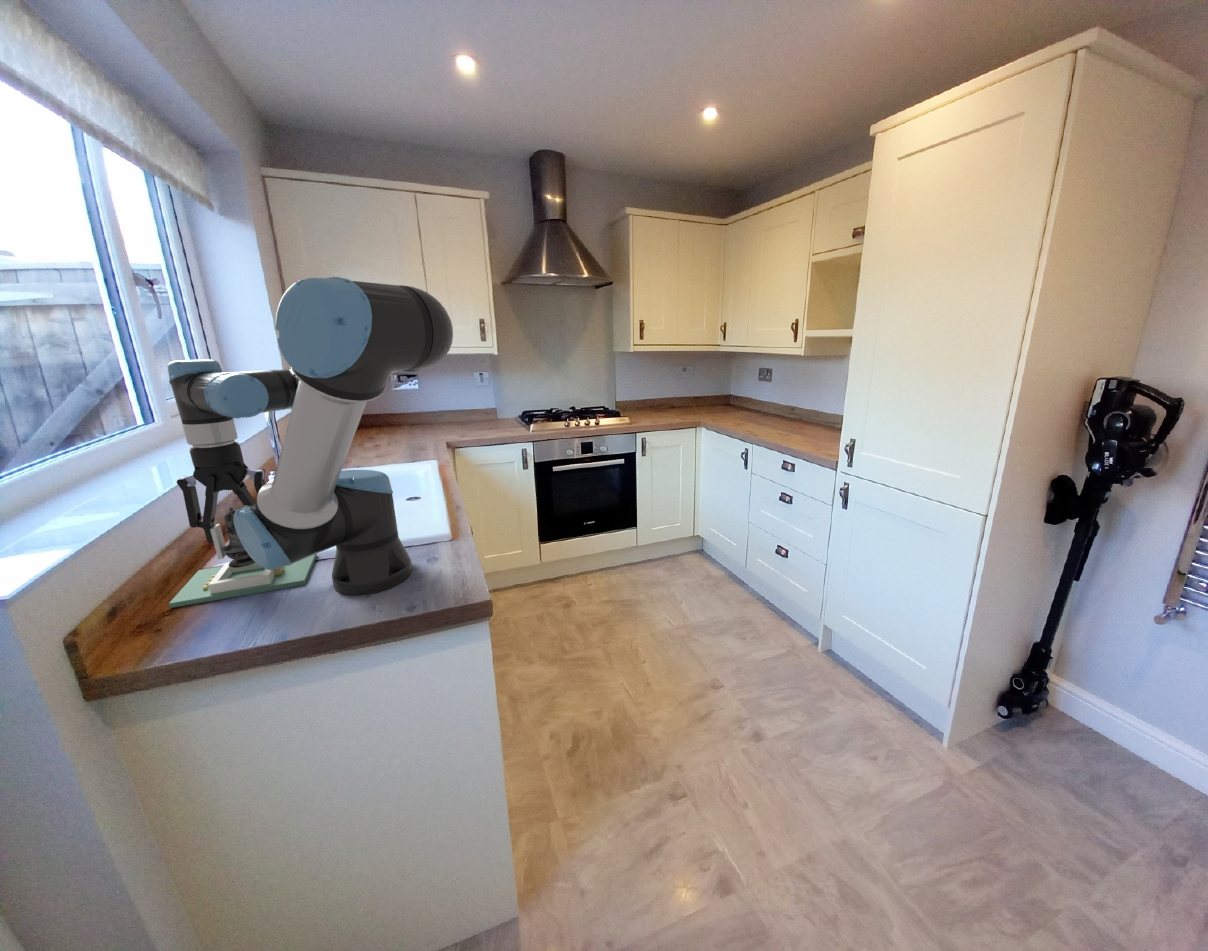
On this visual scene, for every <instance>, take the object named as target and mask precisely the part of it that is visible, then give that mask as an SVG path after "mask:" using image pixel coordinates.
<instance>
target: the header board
mask: <svg viewBox="0 0 1208 951" xmlns="http://www.w3.org/2000/svg"><path fill="white" fill-rule="evenodd" d="M317 554H318V553H317ZM317 554H314V555H312V556H309V557H307V558H305V559H302V560H300V561H297V562H295V563H292V565H289V566H288V565H286V566H284V567H281V568H278V569H275V570H267V569H264V568H262V567H260V566H259V565H258V564H256V563H254V564H251V565H248V566H244V567H238V568H232V567H229V563H230V562H231V561H229V562H225V563H224V564H223V566H217V567H212V568H203V569H199V570H198V571H196V572H195V574H194V575H193V576H192V577H191V578H190V579H189V580H188V581H187V583H186V584H185V585H184V586H183V587H182V588H181V589H180V590H179V591H178V593H177V594H176V595H175V596H174V597H173V598H172V599H171V601H169V603H168V605H169V607H170V609H172V608H178V607H184V606H190V605H197V604H201V603H207V602H213V601H218V600H224V599H229V598H236V597H241V596H247V595H253V594H258V593H264V592H271V591H276V590H281V589H282V590H283V589H287V588H293V587H298V586H304V585H306V583H307V581H308V578H309V576H310V574H311V571H312V569H313V567H314V564H315V562H316V559H317V556H318V555H317Z"/></svg>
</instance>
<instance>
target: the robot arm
mask: <svg viewBox="0 0 1208 951" xmlns="http://www.w3.org/2000/svg"><path fill="white" fill-rule="evenodd" d="M275 330H276V331H278V336H277V337H276V340H277V344H278V348H279V350H280V353H281V355H282V357H283V358H284V360H285V361H286V363H287V364H288V365H289V367H290V368H284V369H283V368H282V369H267V370H248V371H233V372H232V371H231V372H224V371H223V369H222V367H221V364H220V363H219V361H218V360H215V359H184V360H182V359H181V360H173V361H172V360H171V361H170V362H169V363H168V364H167V372H168V378H169V380H168V381H169V385H170V386H171V389H172V393H173V396H174V400H175V404H176V406H177V410H178V413H179V417H180V419H181V423H182V424H181V426H182V428H183V432H184V435H185V440H186V444H187V445H190V447H189V449H188V451H189V454H190V457H191V462H192V465H193V468H194V470H193V474H190V475H183V476H182V477H180V478H178V479H177V480H176V484H177V485H178V487H179V488H180V490H181V491H182V493H183V494H182V495H183V499H184V500H183V501H184V505H185V509H186V513H187V514H186V515H187V517H188V518H187V519H188V524H189V526H190V528H202V529H203V530H204V531H203V532H204V535H205V538H206V541H207V543H208V544H214V549H215V552H216V556H217V559H218V560H224V558H225V557H227V555H226V553H225V552H223V548H224V547H225V546H226V542H225V539H224V535H223V530H222V527H221V524H220V523H217V524H215V523H216V514H217V513H216V512H217V504H218V498H219V493H220V492H221V491H222V492H223V491H232V492H233V494H234V495H236V496H237V497H238V499H239V501H240V503H241V504H242V505H243V506H242V507H239V508H238V509H236V510H234V511H235V513H234V525H235V529H236V532H237V535H238V537H239V539H240V541H241V543H242V545H243V547H244V548H245V550H246V551H247V553H248V554H249V556H250V557H251V558H252V559H253V561H254V562H255V563H256V564H258V565H259V566H260V567H262V568H264V569H267V570H275V569H278V568H281V567H284V566H286V565H288V566H289V565H292V563H295V562H297V561H300V560H302V559H305V558H307V557H309V556H312V555H314V554H319V553H321V552H322V553H323V551H326V550H329V549H331V548H333V547H335V549H336V552H335V556H334V562H333V567H332V572H331V573H332V574H331V581H332V585H333V588H334V590H335V591H336V592H339V593H340V594H344V595H349V596H350V595H351V596H357V595H358V596H359V595H361V596H362V595H369V594H375V593H378V592H382V591H385V590H389V589H391V588H394V587H395V586H397V585H399V584H401V583H402V582H404V581H405V580H407V579H408V578H409V577H410V575H411V574H412V572H413V565H412V560H411V557H410V555H409V554H408V551H407V550H406V547H405V546H404V544H403V542H402V540H401V539H400V537H399V531H398V524H397V518H396V511H395V510H396V509H395V503H394V496H393V494H394V490H393V489H392V484H391V481H390V477H389V476H388V475H387V474H386V473H384V472H383V471H380V470H373V469H344V470H343V468H344V467H343V466H344V465H345V462H346V460H347V457H348V454H349V451H350V447H351V445H352V443H353V440H354V438H355V435H356V432H357V429H358V427H359V424H360V422H361V418H362V415H363V413H364V411H365V408H366V406H367V402H371V401H373V400H376V399H377V398H379V397H380V396H381V395H382V394H383V393H384V390H385V389H386V388H385V387H386V385H387V383H388V380H389V378H390V375H392V374H394V373H396V372H397V373H398V372H403V373H414V372H417V371H420V370H422V369H425V368H429V367H432V366H434V365H436V364H438V363H440V362H441V361H443V359H444V358H445V357H446V356H447V355H448V353H449V352H450V349H451V347H452V344H453V339H454V331H453V322H452V319H451V318H450V316H449V313H448V312H447V310H446V308H445V307H444V306H443V304H442V303H441V302H440V301H439V300H438V299H437V298H435V297H434V296H433V295H431V294H430V293H428V292H427V291H425V290H423V289H420V288H417V287H414V286H412V285H401V284H400V285H397V284H388V283H380V282H379V283H378V282H367V281H357V280H350V279H348V278H344V277H339V276H331V277H307V278H305V279H300V280H298V281H296V282H294V283H293V284H291V286H289V287H288V288H287V289H286V290H285V292H284V294H283V295H282V297H281V298H280V300H279V304H278V306H277V310H276V314H275ZM289 409H291V411H290V415H289V419H288V422H287V426H286V429H285V430H286V431H285V434H284V438H283V442H282V445H281V450H280V452H279V453H280V454H279V457H278V460H277V464H276V468H275V472H274V476H273V478H272V479H269V481H267V482H266V481H265V477H266V470H265V469H264V468H259V469H252V468H249V466H247V464H245V460H244V457H243V456H244V455H243V452H242V448H241V445H240V442H238V441H237V440H238V438H239V437H238V432H237V427H236V423H235V420H234V419H240V418H252V417H255V416H258V415H259V414H261V413H262V414H263V413H269V412H270V413H271V412H276V411H277V412H279V411H282V410H289ZM247 476H249V478H250V480H251V481H253V485H254V490H255V492H256V496H257V497H256V499H255V498H254V497H253V495H252V494H251V493H250V491H249V490H248V487H247V484H246V482H244V480H245V479H246V477H247ZM197 481H198V482H199V483H200V484H202V485H203V486H204V487H205V492H204V496H205V500H204V508H203V516H202V512H201V506H200V502H199V496H198V491H197V487H196V485H197Z"/></svg>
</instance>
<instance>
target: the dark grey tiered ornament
mask: <svg viewBox="0 0 1208 951" xmlns="http://www.w3.org/2000/svg"><path fill="white" fill-rule="evenodd" d="M228 510H229V511H227V512H225V514H224V515H223V519H224V523H225V527H226V528H225V530H224V531H225V533H227V536H228V540H229V541H228V544H227V545H225V547H224V548H223V552H225V553H226V557H228V559H231V561H229V562H230V563H229V567H232V568H238V567H244V566H248V565H251V564H254V563H255V562H254V561H253V559H252V558H251V557H250V556H249V554H248V553H247V551H246V550H245V548H244V547H243V545H242V543H241V541H240V539H239V537H238V535H237V532H236V529H235V525H234V513H235V511H236V510H234V508H233V507H229V509H228Z"/></svg>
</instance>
